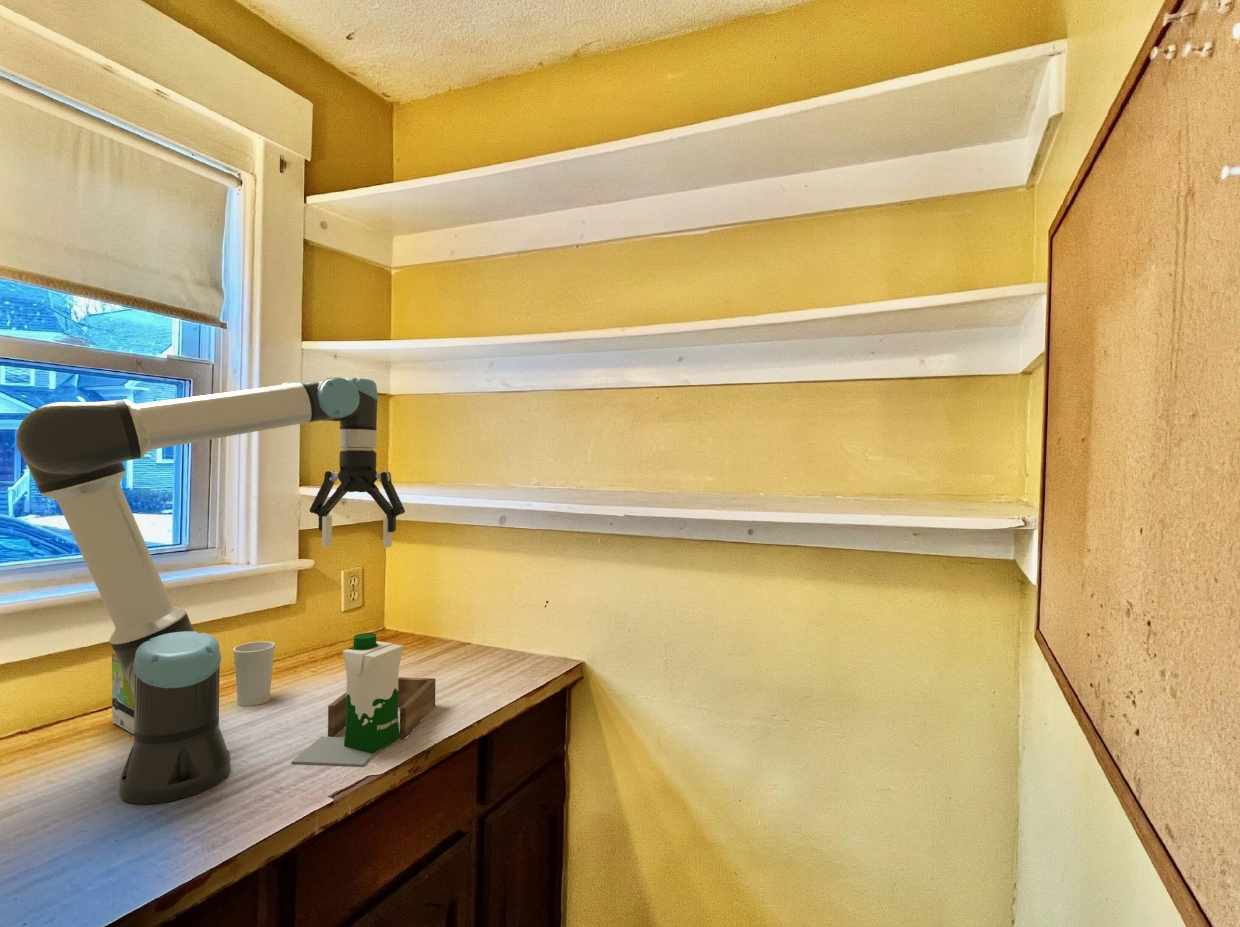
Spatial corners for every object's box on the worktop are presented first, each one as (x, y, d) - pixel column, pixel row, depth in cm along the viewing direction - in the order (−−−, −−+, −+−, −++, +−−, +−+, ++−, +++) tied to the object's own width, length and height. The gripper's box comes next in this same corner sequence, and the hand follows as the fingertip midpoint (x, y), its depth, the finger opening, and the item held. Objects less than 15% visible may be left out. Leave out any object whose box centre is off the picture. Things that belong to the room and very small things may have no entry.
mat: (291, 763, 111) (291, 761, 111) (321, 738, 121) (321, 736, 121) (363, 766, 110) (363, 764, 110) (387, 741, 120) (387, 739, 120)
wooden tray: (327, 736, 122) (328, 705, 122) (366, 703, 139) (366, 676, 139) (405, 739, 121) (405, 708, 121) (435, 705, 138) (435, 678, 138)
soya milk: (371, 729, 125) (373, 628, 125) (407, 737, 121) (409, 634, 121) (336, 747, 117) (337, 640, 116) (373, 757, 113) (374, 646, 113)
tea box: (109, 724, 126) (110, 651, 126) (166, 707, 135) (167, 639, 135) (143, 743, 118) (144, 664, 118) (201, 724, 127) (202, 651, 127)
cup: (277, 692, 144) (278, 640, 144) (269, 705, 137) (270, 650, 137) (238, 695, 142) (238, 642, 142) (228, 709, 134) (228, 653, 134)
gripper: (420, 450, 141) (419, 545, 141) (312, 449, 142) (310, 542, 142) (407, 450, 133) (406, 550, 134) (293, 448, 135) (292, 547, 135)
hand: (357, 546), depth 138 cm, fingers open, 13 cm apart
